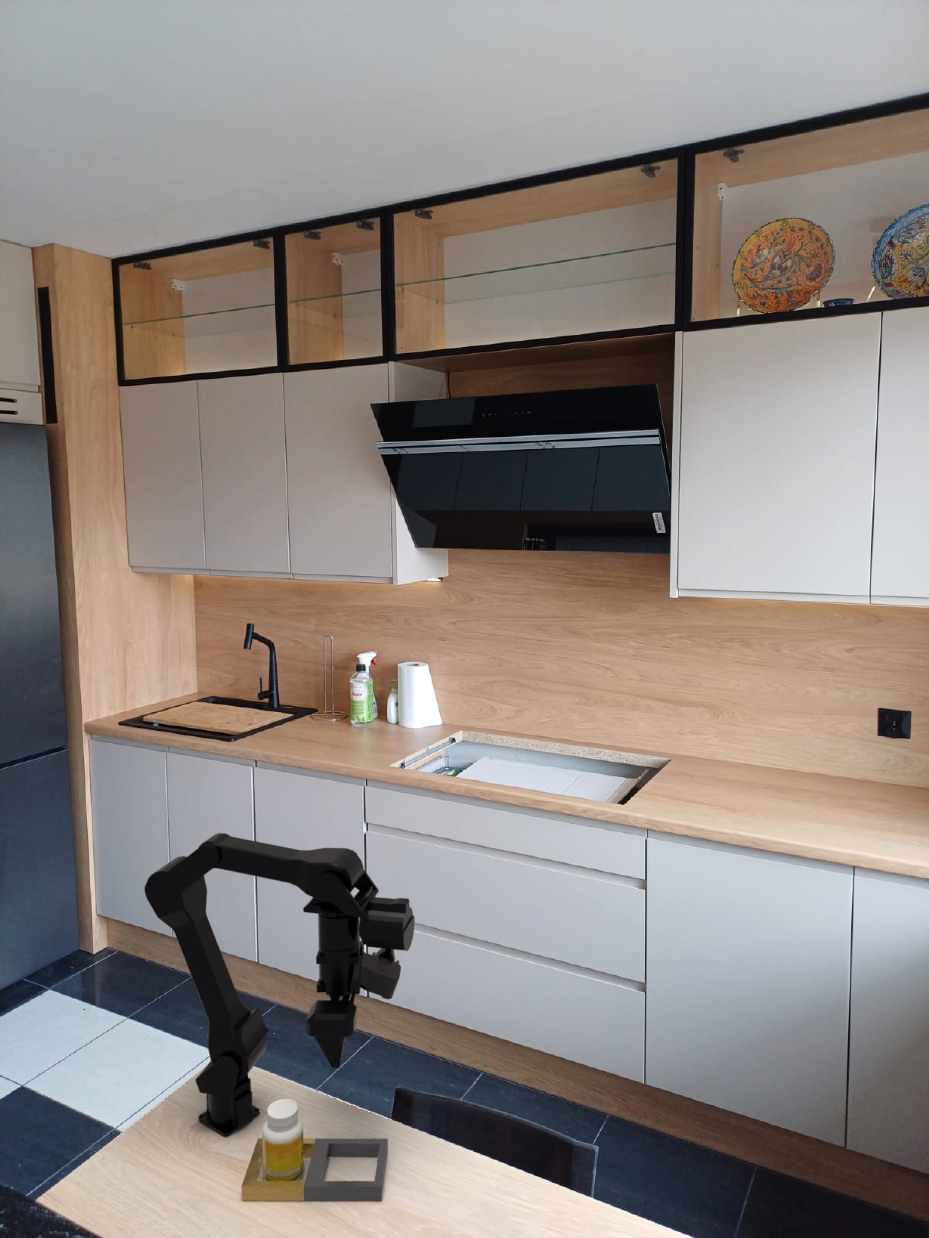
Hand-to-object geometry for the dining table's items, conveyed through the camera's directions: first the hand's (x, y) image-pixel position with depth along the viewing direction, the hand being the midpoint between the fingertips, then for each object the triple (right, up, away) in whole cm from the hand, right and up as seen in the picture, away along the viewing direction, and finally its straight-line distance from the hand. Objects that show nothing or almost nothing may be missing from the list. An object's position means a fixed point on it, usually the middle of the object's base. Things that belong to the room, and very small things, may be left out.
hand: (340, 1047), depth 124 cm
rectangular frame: (-2, -14, -7) cm, 16 cm away
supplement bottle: (-7, -14, -7) cm, 17 cm away
